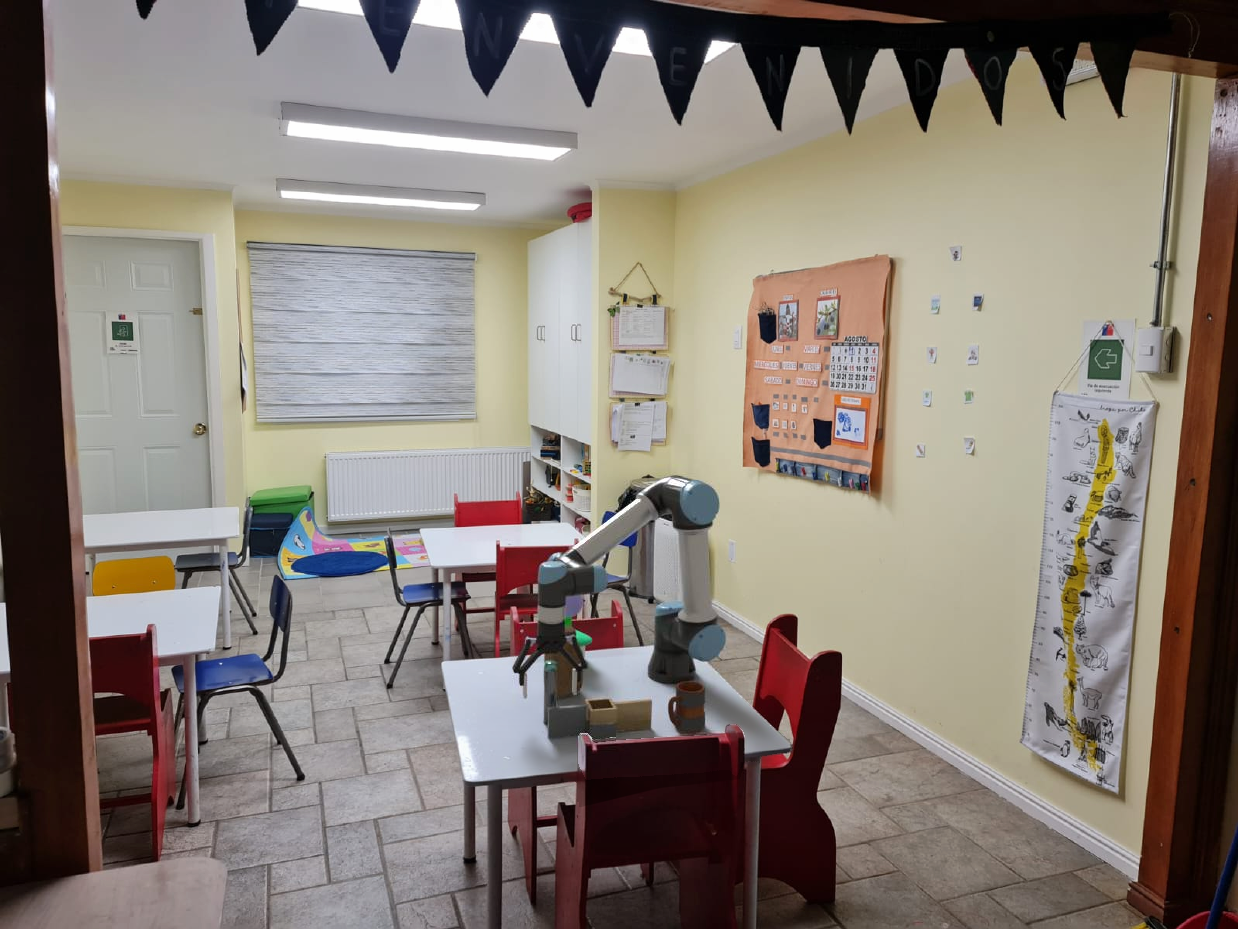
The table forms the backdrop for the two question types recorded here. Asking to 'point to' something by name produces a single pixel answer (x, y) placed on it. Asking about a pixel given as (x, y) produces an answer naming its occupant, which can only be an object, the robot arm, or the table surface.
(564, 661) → the brown rounded block
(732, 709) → the table surface
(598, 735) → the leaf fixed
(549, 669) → the pin
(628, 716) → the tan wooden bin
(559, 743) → the table surface
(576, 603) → the toy character
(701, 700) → the mug
